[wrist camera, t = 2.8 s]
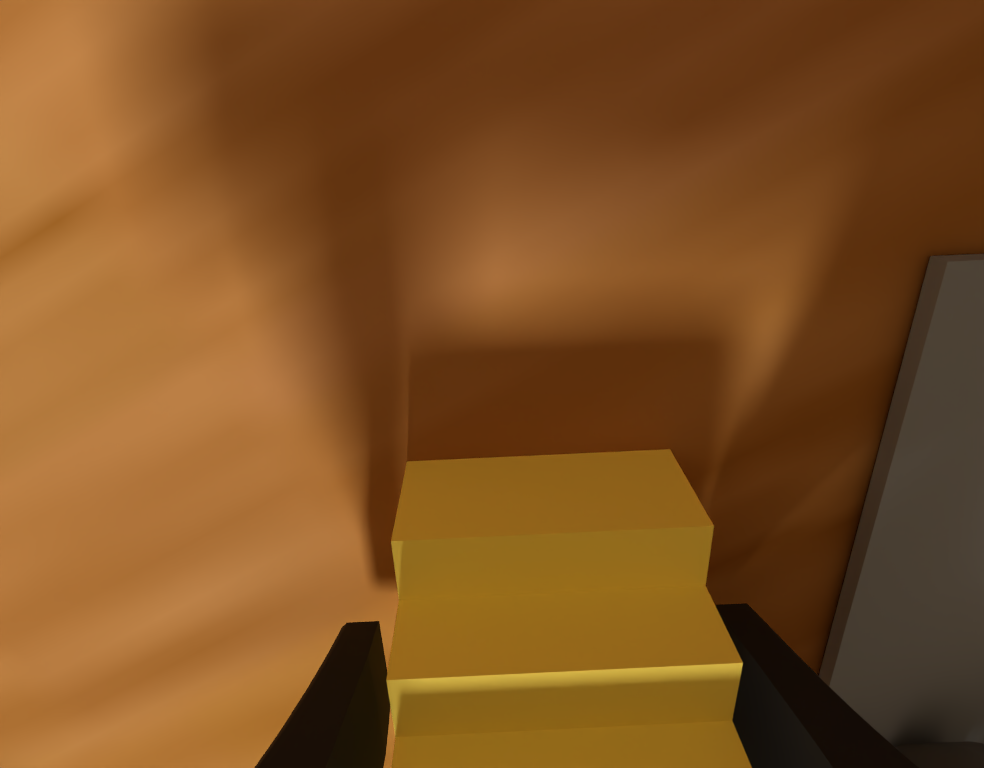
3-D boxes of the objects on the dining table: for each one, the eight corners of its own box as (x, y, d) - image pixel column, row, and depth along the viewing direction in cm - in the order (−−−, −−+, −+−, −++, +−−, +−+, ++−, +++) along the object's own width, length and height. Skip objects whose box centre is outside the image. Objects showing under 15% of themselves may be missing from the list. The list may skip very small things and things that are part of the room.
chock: (436, 705, 14) (418, 979, 10) (407, 456, 11) (362, 681, 7) (643, 695, 14) (720, 964, 10) (666, 444, 11) (792, 661, 7)
